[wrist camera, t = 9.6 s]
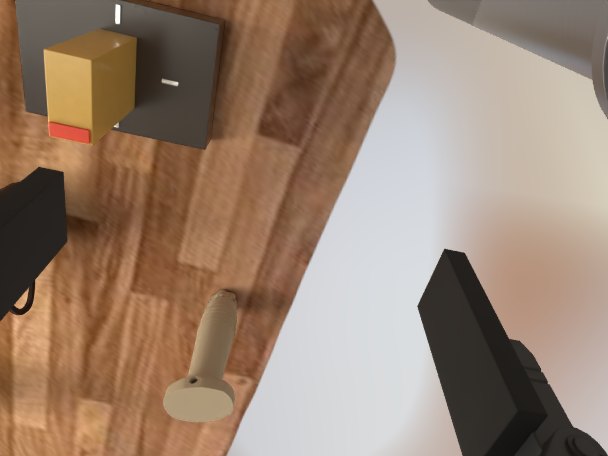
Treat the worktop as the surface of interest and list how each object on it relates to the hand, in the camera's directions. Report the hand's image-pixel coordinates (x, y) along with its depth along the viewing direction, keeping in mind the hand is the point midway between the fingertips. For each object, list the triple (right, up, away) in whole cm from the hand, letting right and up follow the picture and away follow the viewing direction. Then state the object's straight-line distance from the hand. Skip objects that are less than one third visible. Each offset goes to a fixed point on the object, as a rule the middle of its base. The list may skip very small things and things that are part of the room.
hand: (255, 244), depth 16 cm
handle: (-8, -8, +39) cm, 40 cm away
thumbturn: (-14, +14, +22) cm, 30 cm away
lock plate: (-14, +15, +24) cm, 32 cm away
